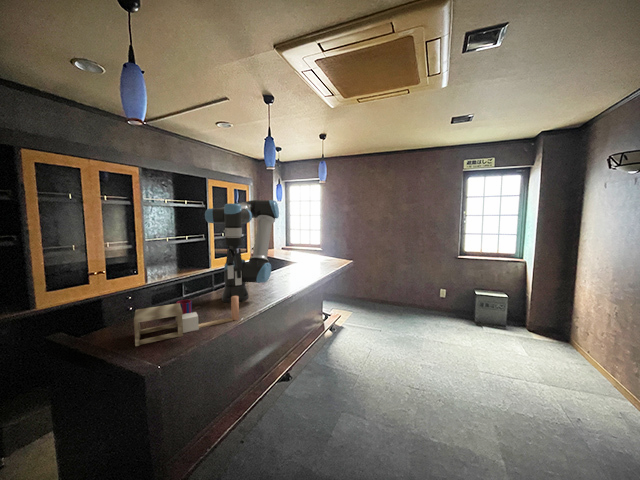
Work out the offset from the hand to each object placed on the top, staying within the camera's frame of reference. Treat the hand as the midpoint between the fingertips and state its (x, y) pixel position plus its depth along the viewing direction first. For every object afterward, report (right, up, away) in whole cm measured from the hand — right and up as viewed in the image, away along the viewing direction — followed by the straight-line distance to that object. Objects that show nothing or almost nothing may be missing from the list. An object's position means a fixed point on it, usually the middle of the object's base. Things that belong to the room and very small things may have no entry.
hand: (234, 281), depth 120 cm
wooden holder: (-26, -19, -15) cm, 36 cm away
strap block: (-9, -19, -4) cm, 21 cm away
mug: (-28, -18, +5) cm, 33 cm away
